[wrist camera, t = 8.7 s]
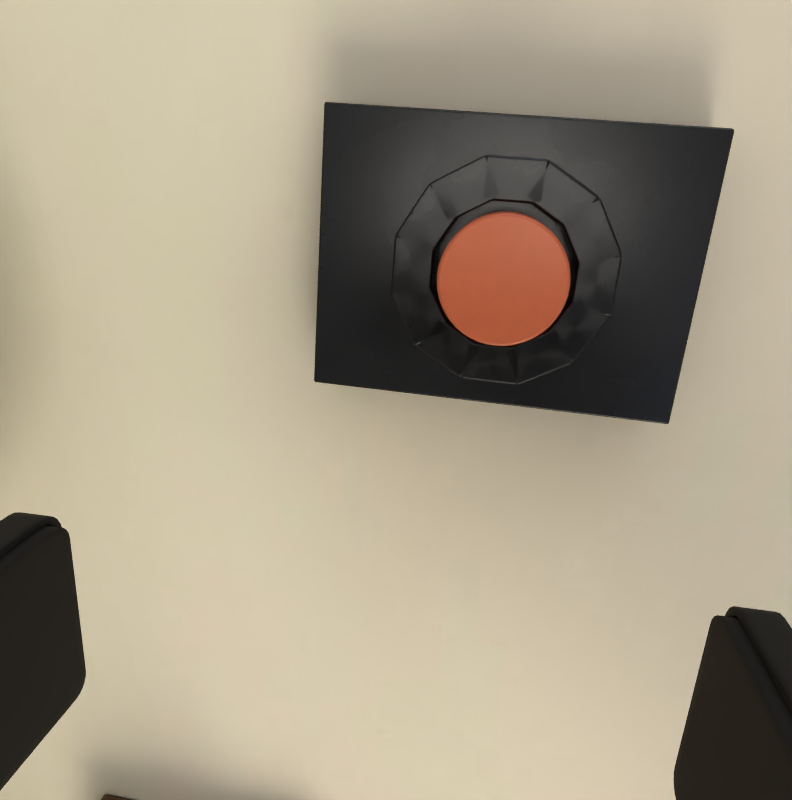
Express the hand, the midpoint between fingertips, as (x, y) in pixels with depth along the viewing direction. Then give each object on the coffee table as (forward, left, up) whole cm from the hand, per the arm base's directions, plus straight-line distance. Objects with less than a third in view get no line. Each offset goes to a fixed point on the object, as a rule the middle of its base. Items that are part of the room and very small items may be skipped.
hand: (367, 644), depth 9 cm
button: (-1, -4, -12) cm, 13 cm away
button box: (-1, -4, -16) cm, 16 cm away
